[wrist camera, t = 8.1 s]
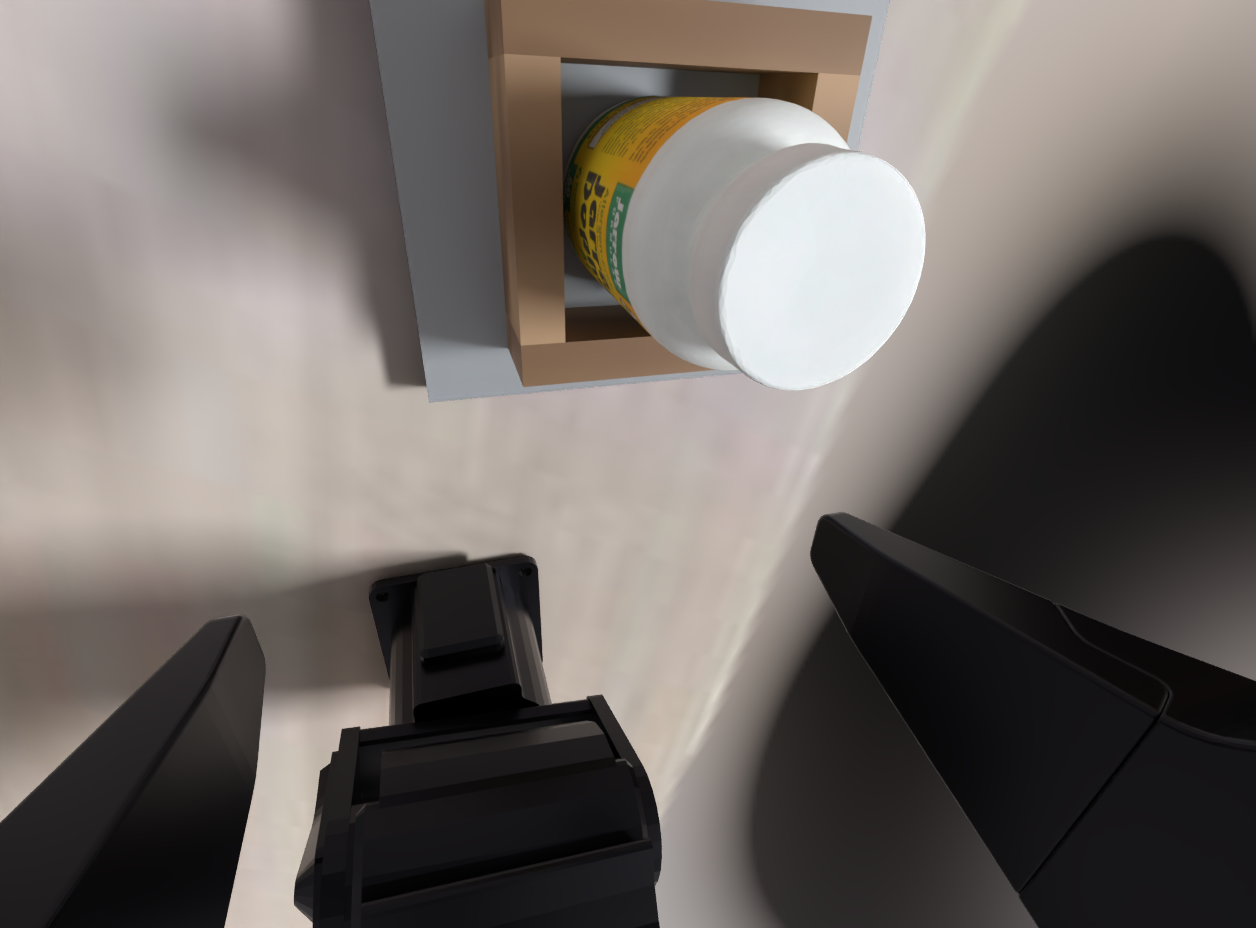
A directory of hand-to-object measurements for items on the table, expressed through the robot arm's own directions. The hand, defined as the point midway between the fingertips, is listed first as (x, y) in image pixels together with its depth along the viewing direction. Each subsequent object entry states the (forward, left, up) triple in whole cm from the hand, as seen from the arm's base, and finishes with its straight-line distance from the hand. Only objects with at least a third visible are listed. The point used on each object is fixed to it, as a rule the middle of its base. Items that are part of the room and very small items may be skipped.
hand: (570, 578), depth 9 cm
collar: (+4, -5, -11) cm, 13 cm away
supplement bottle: (+4, -5, -12) cm, 13 cm away
